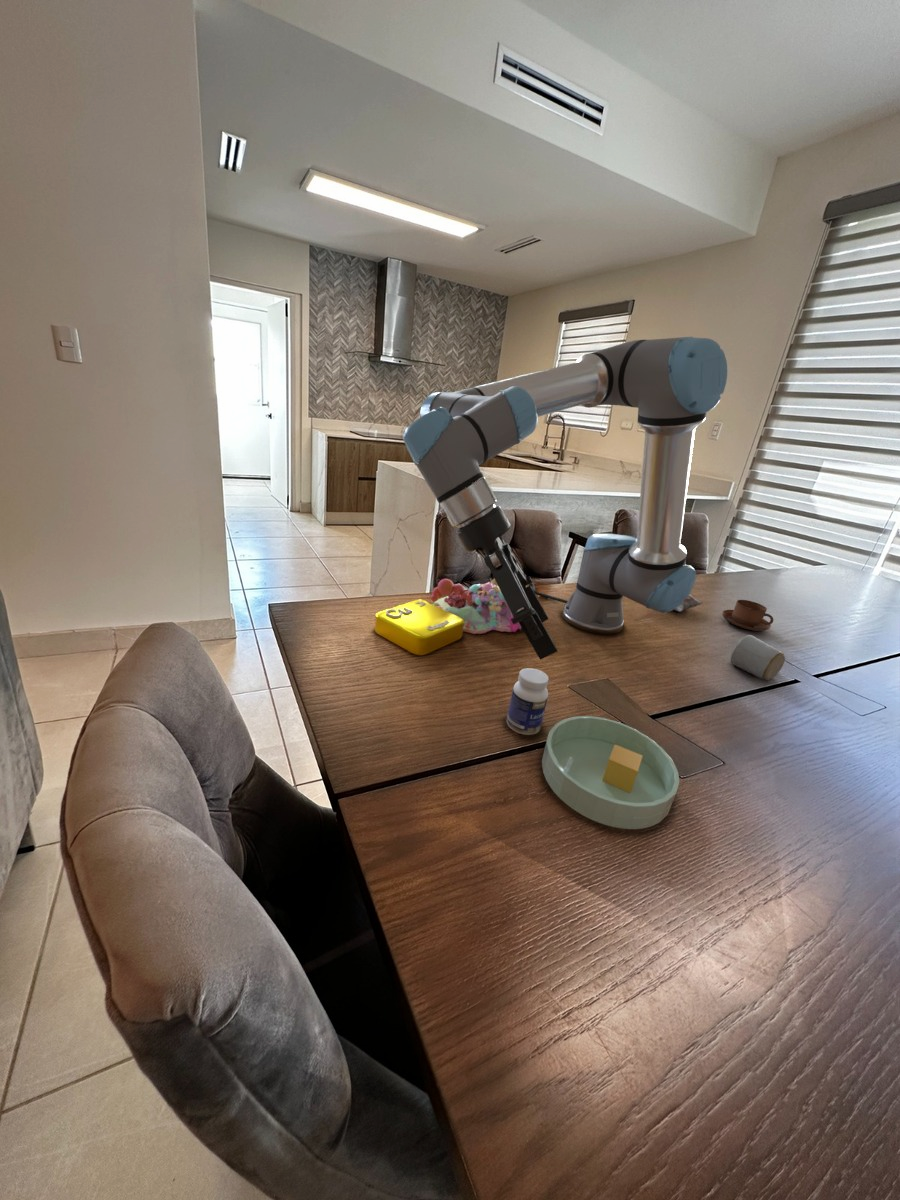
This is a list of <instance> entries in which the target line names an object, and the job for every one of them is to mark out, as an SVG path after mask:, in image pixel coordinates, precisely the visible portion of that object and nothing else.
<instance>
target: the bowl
mask: <svg viewBox="0 0 900 1200" xmlns="http://www.w3.org/2000/svg"><path fill="white" fill-rule="evenodd" d="M546 737H547V738H546V743H545V745H544V750H543V754H542V759H541V767H542V773H543V775H544V778H545V781H546V782H547V784H548V786H549V787H550V788H551V790H552V792H553V793H554V794H555V795H556V796H557V797H558V798H559V799H560V800H561V801H562V802H563V803H564V804H566V805H567V806H568V807H569V808H571V809H572V810H573V811H575V812H577V813H579V814H580V815H581V816H583V817H586V818H587V819H589V820H591V821H594V822H595V823H599V824H601V825H605V826H607V827H612V828H617V829H624V830H642V829H646V828H650V827H653V826H655V825H658V824H660V823H661V822H662V821H663V820H664V819H665V818H666V817H667V816H668V815H669V812H670V810H671V807H672V804H673V802H674V799H675V797H676V795H677V793H678V789H679V787H680V776H679V770H678V769H677V766H676V764H675V762H674V761H673V759H672V757H671V756H670V755H669V754H668V753H667V752H666V750H665V749H664V748H663V747H662V746H661V745H659V744H658V743H657V742H655V741H654V740H653V739H652V738H651V737H650V736H647V735H646V734H644V733H643V732H641V731H639V730H638V729H636V728H634V727H633V726H632V727H631V726H629V725H627V724H625V723H622V722H620V721H616V720H613V719H609V718H606V717H599V716H593V715H577V716H572V717H568V718H564V719H562V720H561V721H558V722H556V723H555V724H554V725H553V726H552V728H550V729H549V731H548V734H547V736H546ZM615 744H616V745H618V746H620V747H623V748H625V749H628V750H630V751H633V752H635V753H637V754H640V755H642V756H643V757H642V760H641V764H640V767H639V770H638V773H637V776H636V779H635V782H634V785H633V788H632V791H631V793H628V792H626V791H624V790H622V789H619V788H617V787H615V786H613V785H610V784H608V783H606V782H604V781H602V780H603V777H604V773H605V770H606V767H607V764H608V761H609V758H610V755H611V753H612V750H613V748H614V745H615Z"/></svg>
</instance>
